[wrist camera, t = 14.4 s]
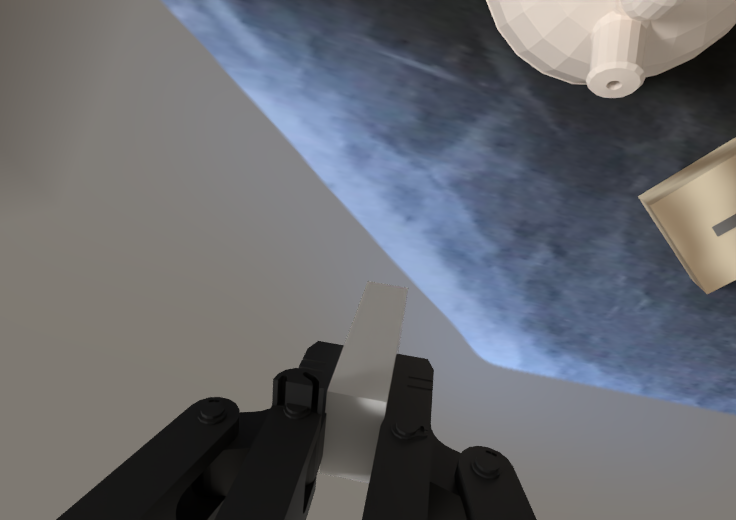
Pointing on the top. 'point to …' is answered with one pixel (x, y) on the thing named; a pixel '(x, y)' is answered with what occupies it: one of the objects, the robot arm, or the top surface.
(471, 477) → the robot arm
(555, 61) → the kettle
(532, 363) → the top surface
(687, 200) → the fader console
